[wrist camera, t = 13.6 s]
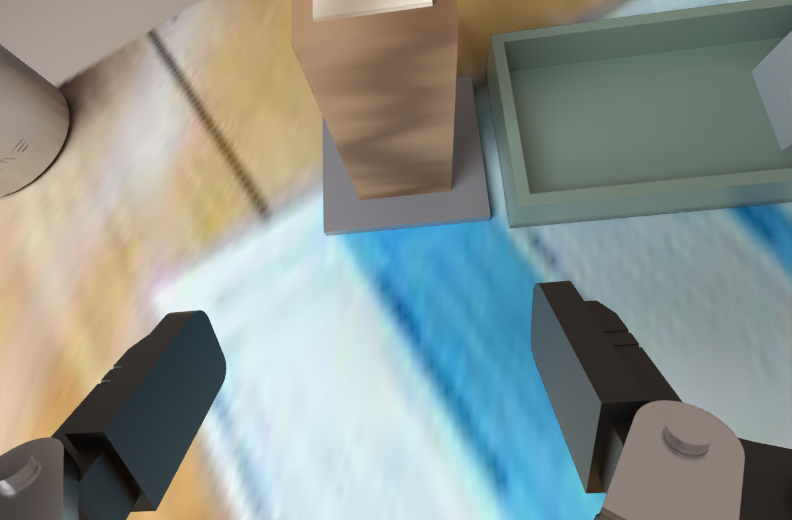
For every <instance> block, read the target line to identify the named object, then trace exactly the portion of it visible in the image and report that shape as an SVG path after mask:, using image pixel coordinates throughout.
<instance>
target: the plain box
mask: <svg viewBox="0 0 792 520" xmlns="http://www.w3.org/2000/svg"><path fill="white" fill-rule="evenodd" d="M751 72H752V75H753V77H754V80H755V83H756V85H757V88H758V90H759V93H760V96H761V98H762V101H763V104H764V106H765V109H766V111H767V114H768V117H769V119H770V122H771V125H772V127H773V130H774V133H775V135H776V138H777V140H778V143H779V146H780V148H781V151H789V150H792V31H791V32H790V33H789V34H788V35H787V36H786V37H785V38H784V39H783V40H782V41H781V42H780V43H779V44H778V45H777V46H776V47H775V48H774V49H773V50H772V51H771V52H770V53H769V54H768V55H767V56H766V57H765V58H764V59H763V60H762V61H761V62H760V63H759V64H758V65H757V66H756V67H755V68H754V69H753V70H752V71H751Z"/></svg>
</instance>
